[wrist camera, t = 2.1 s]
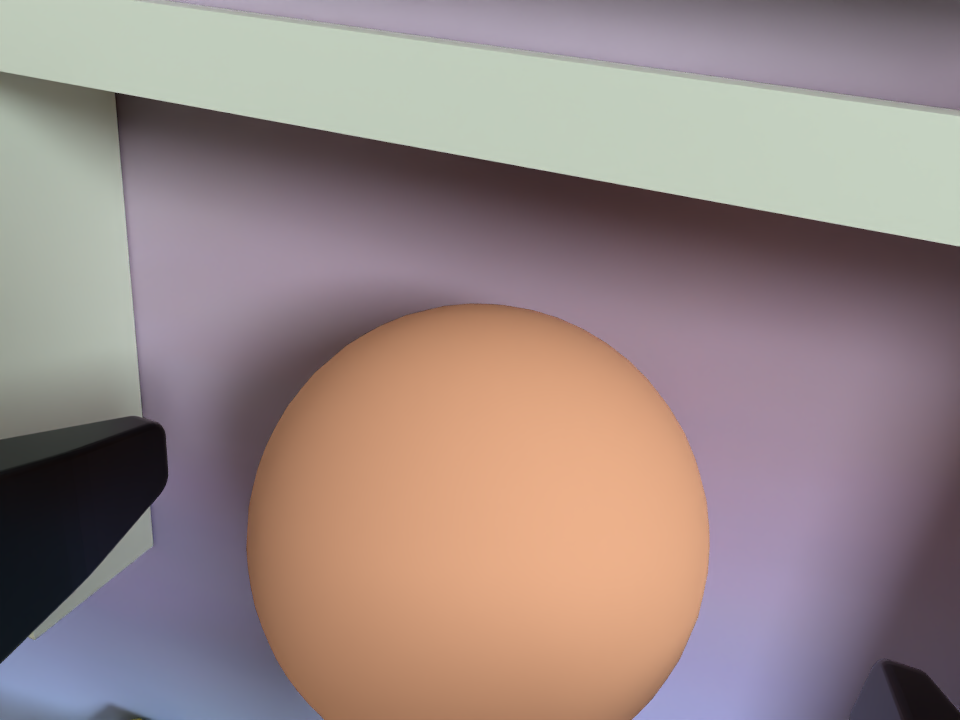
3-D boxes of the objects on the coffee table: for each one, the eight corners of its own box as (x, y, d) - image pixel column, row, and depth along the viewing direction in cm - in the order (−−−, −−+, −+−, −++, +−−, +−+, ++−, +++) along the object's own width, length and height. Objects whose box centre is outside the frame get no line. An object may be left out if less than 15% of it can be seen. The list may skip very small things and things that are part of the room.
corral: (1020, 874, 11) (1098, 1112, 9) (117, 531, 16) (-6, 622, 14) (1511, 187, 7) (1971, 258, 4) (57, -15, 12) (-147, -39, 9)
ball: (671, 617, 12) (613, 996, 7) (370, 516, 13) (151, 773, 9) (767, 304, 10) (780, 546, 5) (391, 223, 11) (106, 346, 6)
